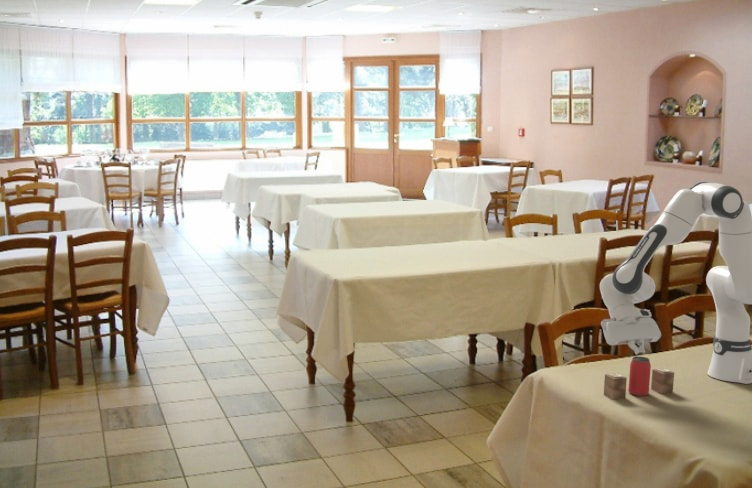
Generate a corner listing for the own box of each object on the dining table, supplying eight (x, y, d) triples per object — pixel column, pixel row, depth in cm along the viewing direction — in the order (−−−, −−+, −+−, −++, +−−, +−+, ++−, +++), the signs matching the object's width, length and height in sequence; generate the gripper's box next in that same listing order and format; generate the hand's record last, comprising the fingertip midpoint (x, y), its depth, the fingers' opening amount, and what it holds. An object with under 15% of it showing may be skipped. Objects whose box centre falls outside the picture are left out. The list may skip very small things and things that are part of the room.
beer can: (649, 397, 294) (652, 362, 292) (628, 395, 296) (631, 360, 294) (647, 391, 301) (650, 356, 299) (627, 389, 302) (629, 355, 300)
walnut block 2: (663, 387, 305) (664, 367, 303) (672, 392, 300) (674, 371, 299) (651, 389, 303) (652, 368, 302) (660, 393, 298) (662, 372, 297)
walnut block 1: (616, 393, 298) (617, 372, 297) (625, 397, 293) (626, 376, 292) (603, 394, 296) (605, 373, 295) (612, 399, 292) (613, 378, 291)
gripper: (603, 314, 297) (618, 351, 290) (654, 311, 304) (670, 346, 297) (594, 324, 302) (609, 360, 295) (645, 320, 309) (660, 355, 302)
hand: (640, 353), depth 296 cm, fingers closed
